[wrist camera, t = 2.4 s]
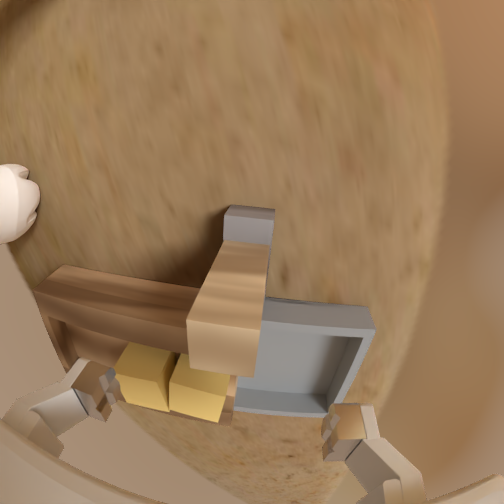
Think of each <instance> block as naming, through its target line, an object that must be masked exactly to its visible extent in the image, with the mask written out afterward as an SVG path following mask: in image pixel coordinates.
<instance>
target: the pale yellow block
mask: <svg viewBox="0 0 504 504" xmlns="http://www.w3.org/2000/svg"><path fill="white" fill-rule="evenodd" d="M176 364H177V358H176V355H175V352H172V351H167V350H163V349H158V348H154V347H150V346H145V345H141V344H137V343H133V342H129V343H128V345H127V347H126V348H125V350H124V351H123V353H122V355H121V356H120V358H119V360H118V361H117V363H116V364H115V366H114V370H115V372H116V376H115V378H116V379H117V380H118V381H119V383H120V389H121V393H122V395H123V396H124V398H125V400H126V402H127V403H131V404H135V405H139V406H143V407H147V408H152V409H156V410H161V411H166V412H170V409H169V381H170V379H171V377H172V374H173V372H174V369H175V367H176Z"/></svg>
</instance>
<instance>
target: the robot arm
mask: <svg viewBox="0 0 504 504" xmlns="http://www.w3.org/2000/svg"><path fill="white" fill-rule="evenodd" d="M115 376H116V372H115V370H114V368H111V367H108V366H105V365H102V364H100V363H97V362H94V361H92V360H89V359H86V358H83V357H81V358H79V359H78V360H77V361H76V363H75V364H74V365H73V367H72V368H71V369H70V370H69V372H68V373H67V375H66V376H65V377H64V379H63V380H62V381H61V383H60V382H56V383H54V384H51V385H49V386H47V387H44V388H42V389H40V390H37V391H35V392H32V393H30V394H27V395H25V396H23V397H20V398H18V399H16V401H15V402H14V403H13V405H12V406H11V407H10V409H9V410H8V411H7V413H6V414H5V416H4V417H3V418H2V419H1V418H0V504H166V503H163V502H159V501H156V500H152V499H149V498H146V497H143V496H140V495H137V494H135V493H132V492H129V491H126V490H124V489H121V488H119V487H116V486H114V485H111V484H109V483H107V482H104V481H102V480H100V479H98V478H95V477H93V476H91V475H89V474H87V473H85V472H83V471H81V470H79V469H77V468H75V467H73V466H71V465H70V464H68V463H66V462H64V461H62V460H60V459H59V456H60V454H61V452H62V451H63V449H64V446H63V444H62V443H61V441H60V440H59V439H58V438H57V436H59V435H61V434H62V433H64V432H65V431H67V430H69V429H70V428H72V427H73V426H75V425H76V424H78V423H79V422H81V421H83V420H84V419H86V418H87V417H88V416H90V417H93V418H96V419H98V420H101V421H104V422H106V421H107V419H108V417H109V415H110V413H111V411H112V408H111V405H112V404H114V403H116V402H117V400H118V398H119V395H120V391H121V389H120V383H119V381H118V380H117V379H116V378H115ZM321 435H322V438H323V439H324V441H325V443H324V445H323V447H322V452H323V461H345V464H346V465H347V466H348V468H349V469H350V470H351V472H352V473H353V474H354V476H355V477H356V478H357V479H358V481H359V482H360V483H361V485H362V486H363V487H364V489H365V490H366V491H367V493H368V494H367V495H366V496H364V497H363V498H361V499H360V500H359V501H358V502H357V503H356V504H504V477H503V476H501V475H499V474H492V475H489V476H487V477H485V478H483V479H481V480H479V481H477V482H474V483H472V484H470V485H468V486H465V487H463V488H460V489H458V490H456V491H453V492H450V493H448V494H445V495H442V496H439V497H436V498H434V499H430V500H427V499H426V494H425V489H424V484H423V480H422V475H421V472H420V471H419V470H417V469H416V468H415V467H414V466H413V465H412V464H411V463H410V462H409V461H408V460H407V459H406V458H405V457H403V455H402V454H400V453H399V452H398V451H397V450H396V449H395V448H394V447H393V446H392V445H391V444H390V443H389V442H388V441H387V440H386V439H385V438H380V434H379V430H378V426H377V421H376V417H375V413H374V409H373V405H372V404H371V403H332V404H331V405H330V407H329V414H327V415H325V417H324V419H323V422H322V429H321Z"/></svg>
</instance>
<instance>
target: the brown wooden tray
mask: <svg viewBox="0 0 504 504" xmlns="http://www.w3.org/2000/svg"><path fill="white" fill-rule="evenodd" d="M200 289H201V288H195V287H188V286H182V285H175V284H169V283H162V282H156V281H150V280H144V279H138V278H133V277H127V276H121V275H116V274H110V273H105V272H100V271H94V270H89V269H84V268H79V267H74V266H69V265H62V266H61V267H60V268H58V269H57V270H56V271H55V272H53V273H52V274H51V275H50V276H49V277H47V278H46V279H45V280H44V281H42V282H41V283H40V284H39V285H38V286H36V287H35V288H34V289H33V293H34V296H35V299H36V302H37V305H38V308H39V311H40V314H41V316H42V319H43V322H44V324H45V327H46V329H47V332H48V334H49V336H50V339H51V341H52V343H53V346H54V348H55V350H56V353H57V355H58V357H59V359H60V361H61V363H62V365H63V367H64V369H65V371H66V373H68V372H69V370H70V369H71V368H72V367H73V365H74V364H75V363H76V361H77V360H78V359H79V358H81V357H83V358H86V359H89V360H92V361H94V362H97V363H100V364H102V365H105V366H108V367H111V368H114V366H115V364H116V363H117V361H118V360H119V358H120V356H121V355H122V353H123V351H124V350H125V348H126V347H127V345H128V343H129V342H133V343H137V344H141V345H145V346H150V347H154V348H158V349H163V350H167V351H172V352H175V355H176V358H177V362H178V359H179V357H180V355H181V353H182V354H187V355H189V351H188V339H187V325H186V319H187V316H188V314H189V312H190V310H191V308H192V306H193V304H194V302H195V300H196V297H197V295H198V293H199V291H200ZM237 383H238V376H235V375H230V380H229V384H228V389H227V394H226V398H225V401H224V405H223V408H222V411H221V415H220V418H219V421H218V423H217V422H213V421H209V420H205V419H201V418H197V417H194V416H190V415H186V414H183V413H179V412H176V411H173V410H170V412H166V411H161V410H156V409H152V408H147V407H143V406H140V407H143V408H147V409H150V410H154V411H158V412H161V413H165V414H169V415H173V416H178V417H182V418H186V419H191V420H196V421H201V422H206V423H211V424H217V425H223V426H231V421H232V415H233V409H234V402H235V396H236V391H237ZM118 400H121V401H124V402H126V400H125V398H124V396H123V395H122V393H121V391H120V395H119V398H118ZM130 404H131V403H130ZM133 405H135V404H133ZM137 406H139V405H137Z"/></svg>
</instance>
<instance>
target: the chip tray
mask: <svg viewBox="0 0 504 504" xmlns="http://www.w3.org/2000/svg"><path fill="white" fill-rule="evenodd" d="M375 332H376V327H375V325H374V322H373V320H372V317H371V315H370V312H369V310H368V307H365V306H353V305H341V304H329V303H319V302H308V301H299V300H289V299H280V298H271V297H265V300H264V304H263V312H262V320H261V329H260V337H259V344H258V351H257V358H256V365H255V372H254V378H250V377H242V376H238V383H237V391H236V396H235V402H234V409H233V410H235V411H242V412H250V413H258V414H268V415H280V416H295V417H325V415H327V414H329V407H330V405H331V404H332V403H342V401H343V399H344V397H345V395H346V393H347V392H348V390H349V388H350V386H351V384H352V382H353V380H354V378H355V376H356V374H357V372H358V370H359V368H360V366H361V364H362V361H363V359H364V357H365V355H366V353H367V351H368V348H369V346H370V344H371V341H372V339H373V337H374V334H375Z"/></svg>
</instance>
